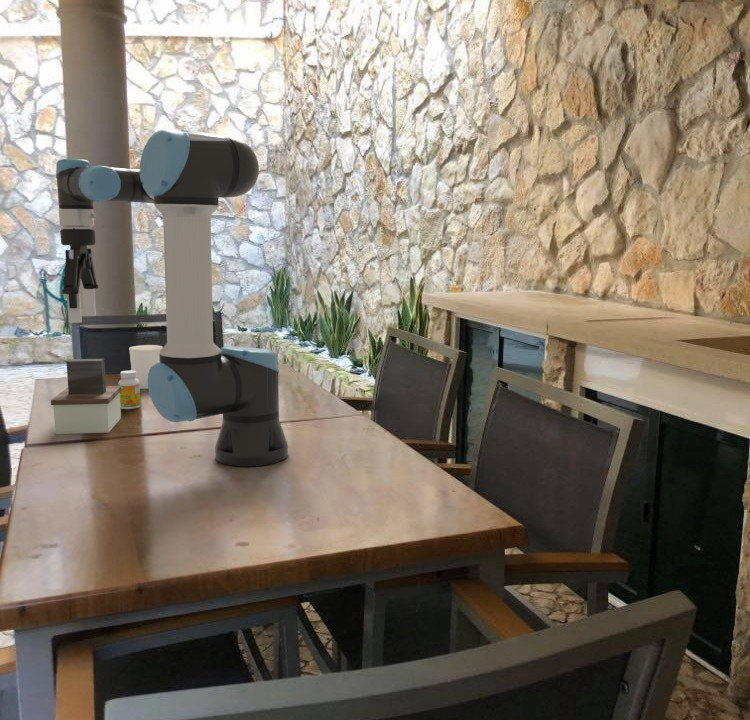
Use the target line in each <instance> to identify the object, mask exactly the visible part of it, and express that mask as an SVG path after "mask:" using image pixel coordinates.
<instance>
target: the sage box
mask: <svg viewBox="0 0 750 720" xmlns="http://www.w3.org/2000/svg"><path fill="white" fill-rule="evenodd" d="M52 406H53V415H54V416H53V417H54V418H53V419H54V429H55V431H54V434H55V435H65V434H67V435H68V434H69V435H70V434H98V433H99V434H103V433H106V434H107V433H110V432H111V430H112V429H113V428H114V427H115V426H116V425H117V424H118V422H119V421H120V420H121V418H122V412H121V411H122V409H121V408H120V393H119V394H118V395H117V396H116V397H115V398H114V399H113V400H112V401H111V402H110V403H109V404H80V405H52Z"/></svg>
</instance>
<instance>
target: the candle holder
mask: <svg viewBox="0 0 750 720" xmlns="http://www.w3.org/2000/svg"><path fill="white" fill-rule="evenodd" d="M163 347H164V346H162V345H158V344H157V345H155V344H143V345H142V344H141V345H134V346H130V347H129V348H128V351H129V358H130V366H131V367H130V370H132V371H136V379H138V380H139V384H140V390H149V389H148V373H149V372H150V371H149V370H150V368H151V367H152V366H153V365H155V364H156V363H160V355H159V351H160V350H161V349H162V348H163Z"/></svg>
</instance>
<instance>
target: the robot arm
mask: <svg viewBox="0 0 750 720" xmlns="http://www.w3.org/2000/svg"><path fill="white" fill-rule="evenodd" d="M55 168H56V173H55V178H56V188H57V199H58V200H57V201H58V217H59V218H58V219H59V226H60V227H62V228H61V229H60V230H59V232H60V233H59V235H60V244H61V245H62V246H69V249H65V253H64V254H65V265H64V279H63V280H64V281H63V289H62V294H63V295H66V300H67V315H68V323H69V324H70V323H74V324H76V323H78V324H79V323H82V322H83V317H96V316H97V309H96V292H95V289H97V290H98V289H99V285H98V283H97V279H96V274H95V267H94V262H93V258H92V257H93V256H92V255H93V254H92V248H89V247H88V246H95V245H96V231H95V229H93V228H94V226H95V219H96V218H97V215H96V213H94V209H95V208H94V202H98V203H99V202H102V203H103V202H104V203H107V202H108V203H113V202H115V203H139V204H142V203H143V204H154V207H155V208H156V210H158V211H159V213H161V214H162V216H163V217H162V220H163V223H162V225H163V249H164V277H165V278H164V283H165V285H164V286H165V311H166V315H165V316H166V317H165V318H166V344H164V346H162V347H163V348H162V349H161V350H160V351H159V355H160V363H156V364H155V365H153V366H152V367H151V368H150V370H149V371H150V372H149V373H148V389H147V390H148V394H149V396H150V399H151V402H152V403H153V404H152V405H154V406H153V407H154V408H155V409H156V410H157V412H158V414H160V416H161V417H162V418H163V419H165V420H166V421H169V422H172V423H180V422H181V423H182V422H194V421H195V420H199V419H204V418H210V417H214V416H219V415H222V424H221V427H220V430H219V433H218V437H217V441H216V444H215V448H214V449H215V450H214V454H215V455H214V456H215V457H214V458H215V460H216V461H217V462H219V463H221V464H224V465H226V466H233V467H260V466H261V467H262V466H267V465H272V464H276V463H279V462H282V461H284V460H285V459H287V457H289V445H288V441H287V438H286V436H285V433H284V429H283V427H282V425H281V421H280V405H279V402H280V399H279V397H280V395H279V373H280V370H279V362H278V356H277V354H276V353H275V352H274V351H273V350H270V349H265V348H259V347H249V346H235V345H234V346H233V345H232V346H231V345H230V346H228V345H227V346H222V347H221V348H220V347H219V346H218V345H217V344H216V343H215V342H214V322H213V321H214V319H213V318H214V316H213V314H214V313H213V274H212V273H213V269H212V268H213V267H212V260H213V259H212V225H211V224H212V223H211V221H212V220H211V216H212V215H213V213H215V212H216V210H218V209H219V207H220V206H219V199H220V198H221V199H223V198H236V197H240V196H243V195H245V194H246V193H249V192H250V191H251V190H252V189H253V188H254V186H255V185H256V183H257V181H258V179H259V174H260V166H259V161H258V158H257V156H256V154H255V152H254V150H253V149H252V148H251V146H250V145H249V144H248V143H246V142H245V141H243V140H242V139H240V138H238V137H235V136H231V135H226V134H215V133H207V132H200V131H193V130H185V129H161V130H158V131H156V132H155V133H153V134H152V135H150V137H149V138H148V140H147V142H146V144H145V145H144V147H143V150H142V152H141V156H140V161H139V168H137V169H136V168H135V169H134V168H133V169H131V168H120V167H110V166H107V165H98V164H94V165H91V163H90V161H89V160H86V159H79V158H66V159H65V158H62V159H59V160H57V162H56V167H55ZM81 283H82V287H83V289H82V290H81V291H82V302H81V293H79V292H80V284H81ZM82 305H83V306H82ZM82 308H83V317H82Z"/></svg>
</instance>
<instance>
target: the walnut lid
mask: <svg viewBox="0 0 750 720" xmlns="http://www.w3.org/2000/svg"><path fill="white" fill-rule="evenodd" d="M66 375H67V376H66V377H67V387H66V388H65V389H63V390H62V391H61V392H59V393H58V394H57V395H56V396H54V397H53V398H51V399H50V405H51V406H53V405H80V404H109V403H110V402H111V401H112V400H113V399H114V398H115V397H116V396H117V395H118V394H119V393H120V392H121V391H122V390H121V386H118V385H107V382H106V365H105V358H76V359H75V358H71V359H68V360H66Z"/></svg>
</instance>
